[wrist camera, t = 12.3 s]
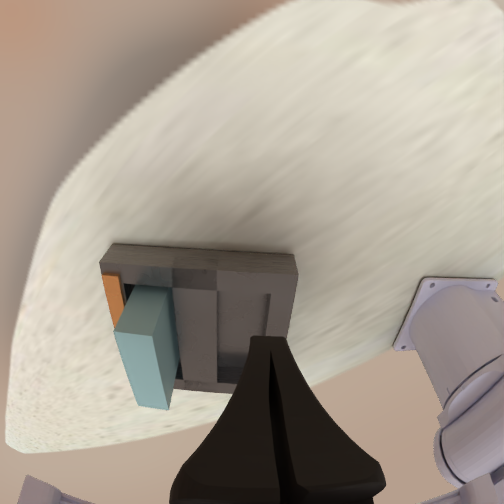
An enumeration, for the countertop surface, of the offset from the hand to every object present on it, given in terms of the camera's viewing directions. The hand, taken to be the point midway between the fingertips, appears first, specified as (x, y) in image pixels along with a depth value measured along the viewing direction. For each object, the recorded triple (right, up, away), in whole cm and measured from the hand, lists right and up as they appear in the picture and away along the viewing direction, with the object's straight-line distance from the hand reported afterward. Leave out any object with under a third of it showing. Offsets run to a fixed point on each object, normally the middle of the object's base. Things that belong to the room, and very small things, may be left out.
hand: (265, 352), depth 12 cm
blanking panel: (-8, -1, +11) cm, 13 cm away
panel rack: (-4, -1, +12) cm, 12 cm away
